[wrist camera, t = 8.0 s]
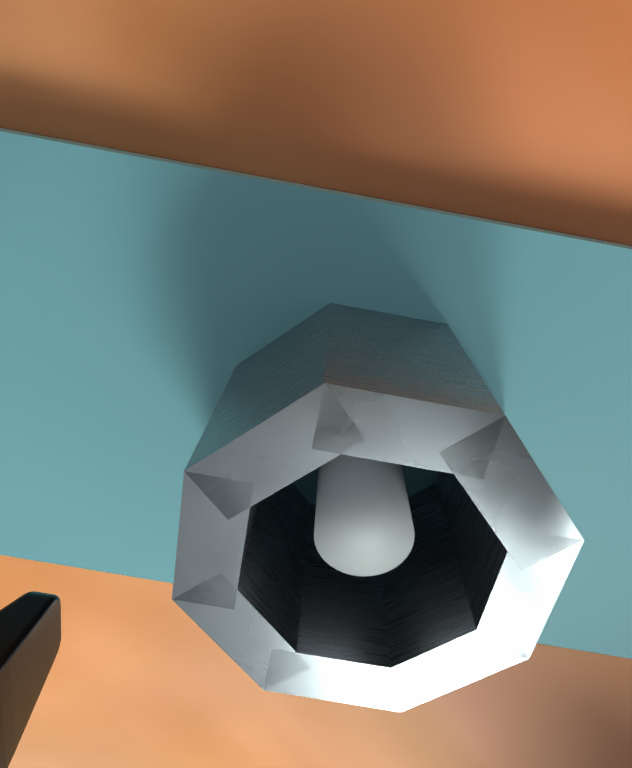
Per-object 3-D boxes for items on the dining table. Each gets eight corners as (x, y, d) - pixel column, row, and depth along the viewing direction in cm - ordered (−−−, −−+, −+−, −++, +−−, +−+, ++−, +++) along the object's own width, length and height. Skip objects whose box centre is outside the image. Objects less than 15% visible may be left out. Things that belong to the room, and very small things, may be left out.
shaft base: (613, 628, 18) (710, 796, 13) (17, 529, 18) (-103, 668, 13) (798, 277, 14) (1048, 343, 9) (-4, 126, 13) (-206, 109, 8)
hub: (451, 562, 16) (497, 727, 11) (216, 522, 16) (164, 674, 11) (530, 339, 13) (631, 438, 9) (246, 287, 13) (194, 359, 8)
